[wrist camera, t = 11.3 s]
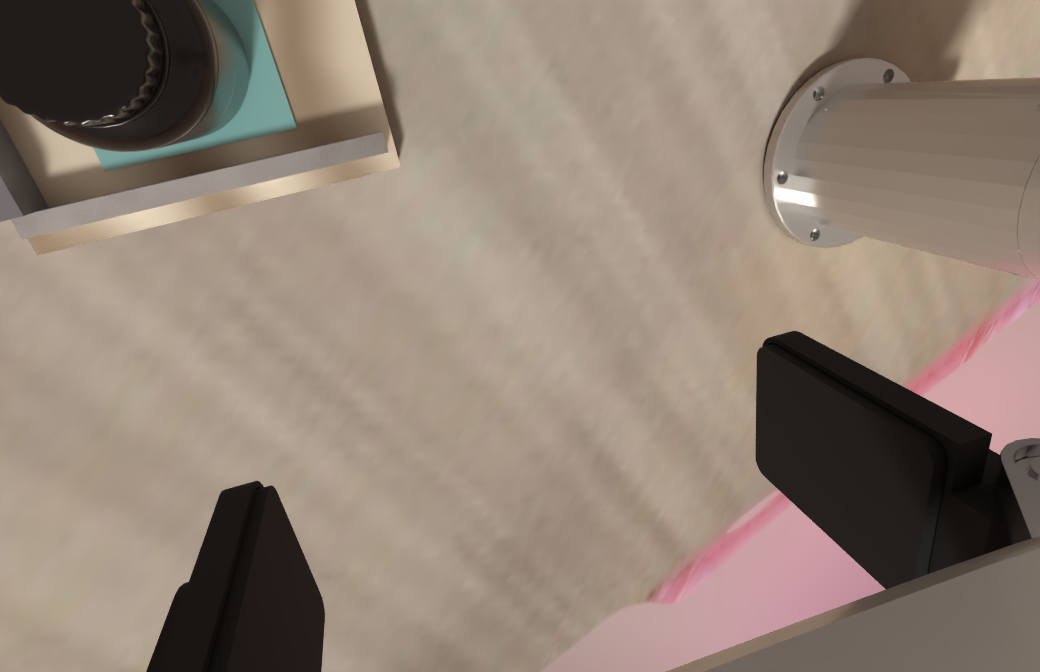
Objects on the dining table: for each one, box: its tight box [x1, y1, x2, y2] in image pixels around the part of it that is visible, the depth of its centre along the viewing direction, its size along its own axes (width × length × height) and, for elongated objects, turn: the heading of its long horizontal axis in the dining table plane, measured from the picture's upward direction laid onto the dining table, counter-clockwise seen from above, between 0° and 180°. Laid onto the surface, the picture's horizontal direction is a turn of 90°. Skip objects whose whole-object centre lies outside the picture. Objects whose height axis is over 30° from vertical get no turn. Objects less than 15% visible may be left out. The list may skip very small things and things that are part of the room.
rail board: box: [0, 0, 401, 255], centre depth 26 cm, size 18×14×4 cm
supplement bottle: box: [0, 0, 249, 152], centre depth 21 cm, size 7×7×12 cm
